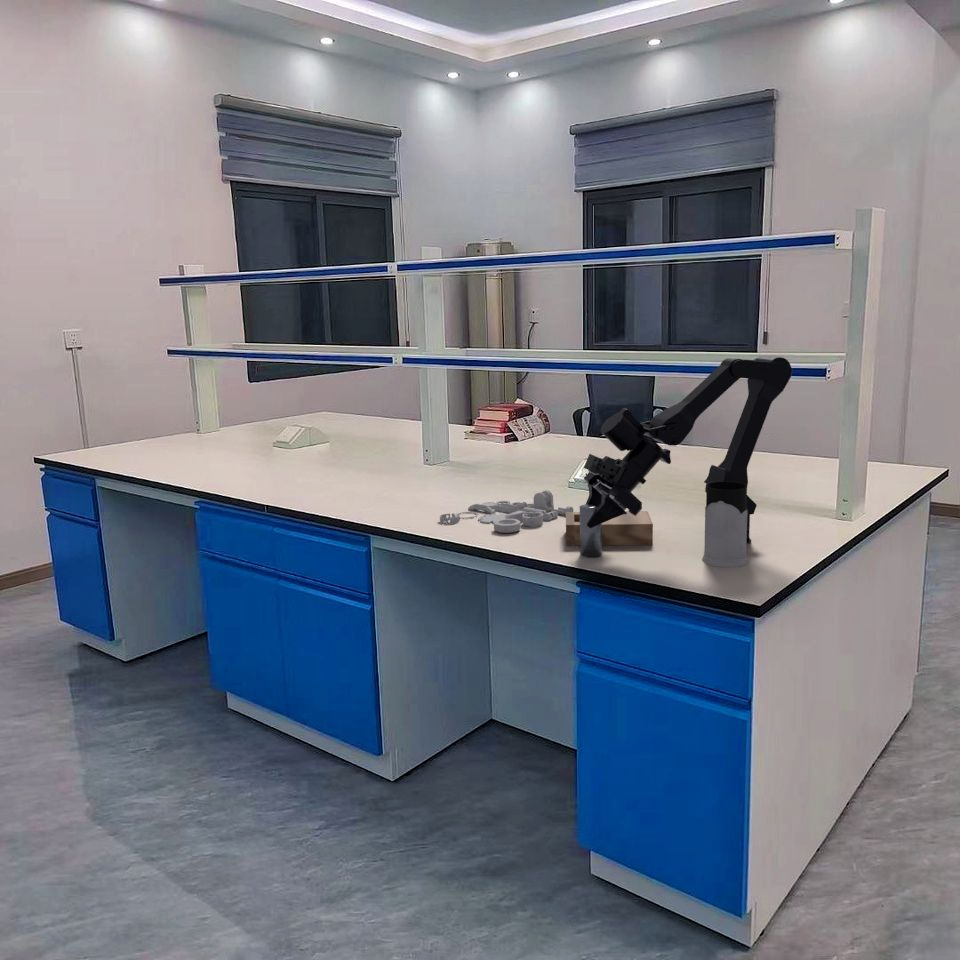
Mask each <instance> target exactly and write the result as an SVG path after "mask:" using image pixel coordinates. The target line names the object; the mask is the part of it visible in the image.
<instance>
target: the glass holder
mask: <svg viewBox="0 0 960 960" xmlns="http://www.w3.org/2000/svg"><path fill="white" fill-rule="evenodd" d="M705 494H706V496H705V497H706V498H705V499H706V500H705V502H706V503H705V504H706V506H705V507H704V553H703V555H702V558H701V561H702V562H703V563H704V564H706V565H709V566H712V567H717V568H738V567H740V568H741V567H742V566H746V565H747V564H749V559H748V557H747V556H748V555H747V543H746V542H747V510H746V507H747V496H748V486H747V485H746V484H743V483H739V482H729V481H721V482H712V483H708V484H707V490H706V492H705Z"/></svg>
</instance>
